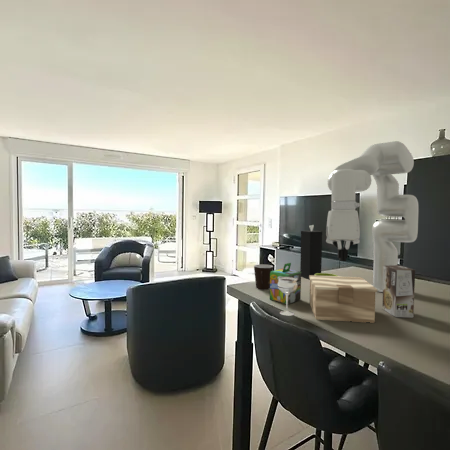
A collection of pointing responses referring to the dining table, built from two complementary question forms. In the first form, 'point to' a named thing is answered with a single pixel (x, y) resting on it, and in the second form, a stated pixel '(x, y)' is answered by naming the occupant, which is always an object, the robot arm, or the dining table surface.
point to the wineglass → (287, 290)
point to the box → (342, 306)
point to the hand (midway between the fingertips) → (342, 260)
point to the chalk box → (274, 290)
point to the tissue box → (311, 252)
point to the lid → (342, 286)
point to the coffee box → (398, 290)
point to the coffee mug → (262, 276)
